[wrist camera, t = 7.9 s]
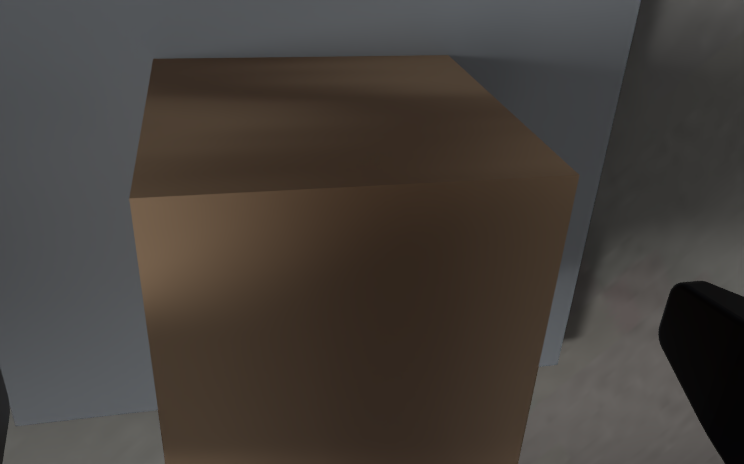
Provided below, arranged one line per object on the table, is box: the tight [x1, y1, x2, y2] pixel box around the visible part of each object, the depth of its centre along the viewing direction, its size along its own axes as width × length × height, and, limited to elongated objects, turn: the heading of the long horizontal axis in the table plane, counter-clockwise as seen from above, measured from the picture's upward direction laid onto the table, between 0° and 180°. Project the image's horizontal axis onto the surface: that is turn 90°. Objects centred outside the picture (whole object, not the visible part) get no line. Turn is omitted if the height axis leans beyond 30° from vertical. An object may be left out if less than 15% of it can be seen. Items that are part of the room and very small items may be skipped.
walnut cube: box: [129, 55, 579, 464], centre depth 11 cm, size 5×5×5 cm
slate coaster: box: [0, 0, 641, 426], centre depth 13 cm, size 12×10×1 cm
